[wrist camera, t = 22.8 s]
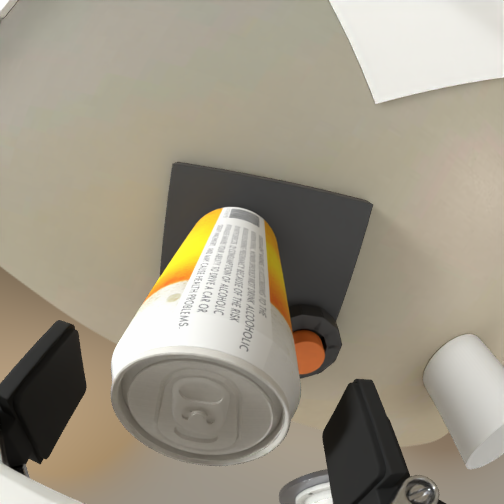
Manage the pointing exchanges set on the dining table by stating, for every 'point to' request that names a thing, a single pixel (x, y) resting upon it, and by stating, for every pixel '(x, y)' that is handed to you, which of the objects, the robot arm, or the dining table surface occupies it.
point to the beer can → (212, 348)
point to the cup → (469, 397)
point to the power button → (308, 351)
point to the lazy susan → (6, 7)
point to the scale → (281, 237)
